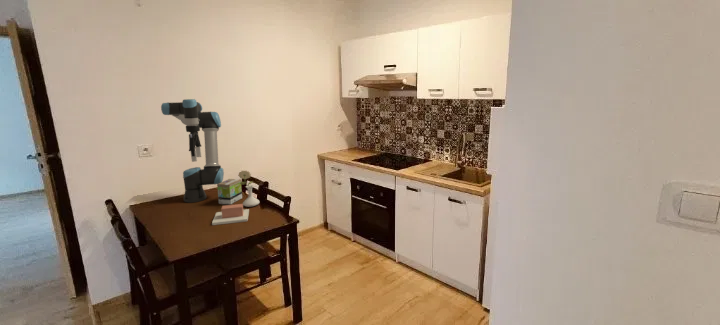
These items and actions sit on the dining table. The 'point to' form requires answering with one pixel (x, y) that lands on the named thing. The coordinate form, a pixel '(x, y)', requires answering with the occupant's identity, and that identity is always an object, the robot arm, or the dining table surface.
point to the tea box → (229, 191)
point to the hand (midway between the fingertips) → (196, 159)
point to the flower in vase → (250, 200)
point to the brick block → (232, 210)
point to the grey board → (230, 218)
